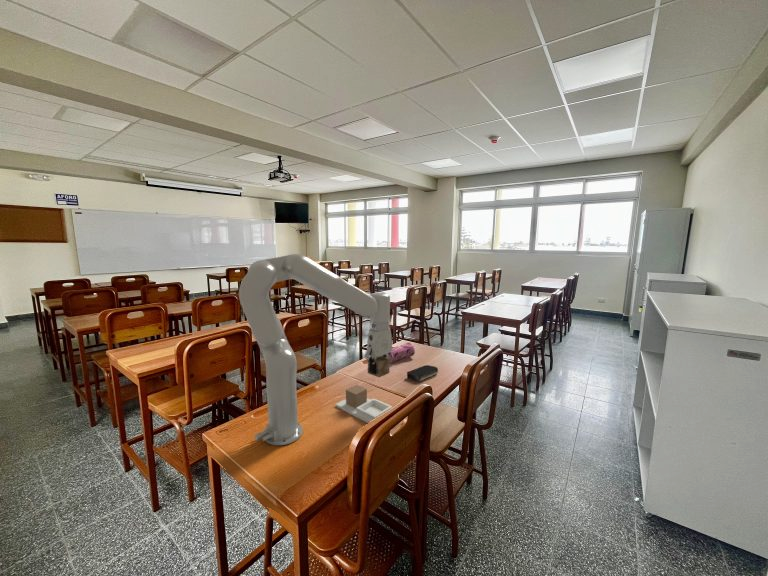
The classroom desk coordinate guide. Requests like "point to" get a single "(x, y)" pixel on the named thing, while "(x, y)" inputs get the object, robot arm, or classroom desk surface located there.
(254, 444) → the classroom desk surface
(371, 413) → the assembly board
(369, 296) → the robot arm
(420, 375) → the black sponge
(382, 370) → the walnut block
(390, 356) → the pencil case
